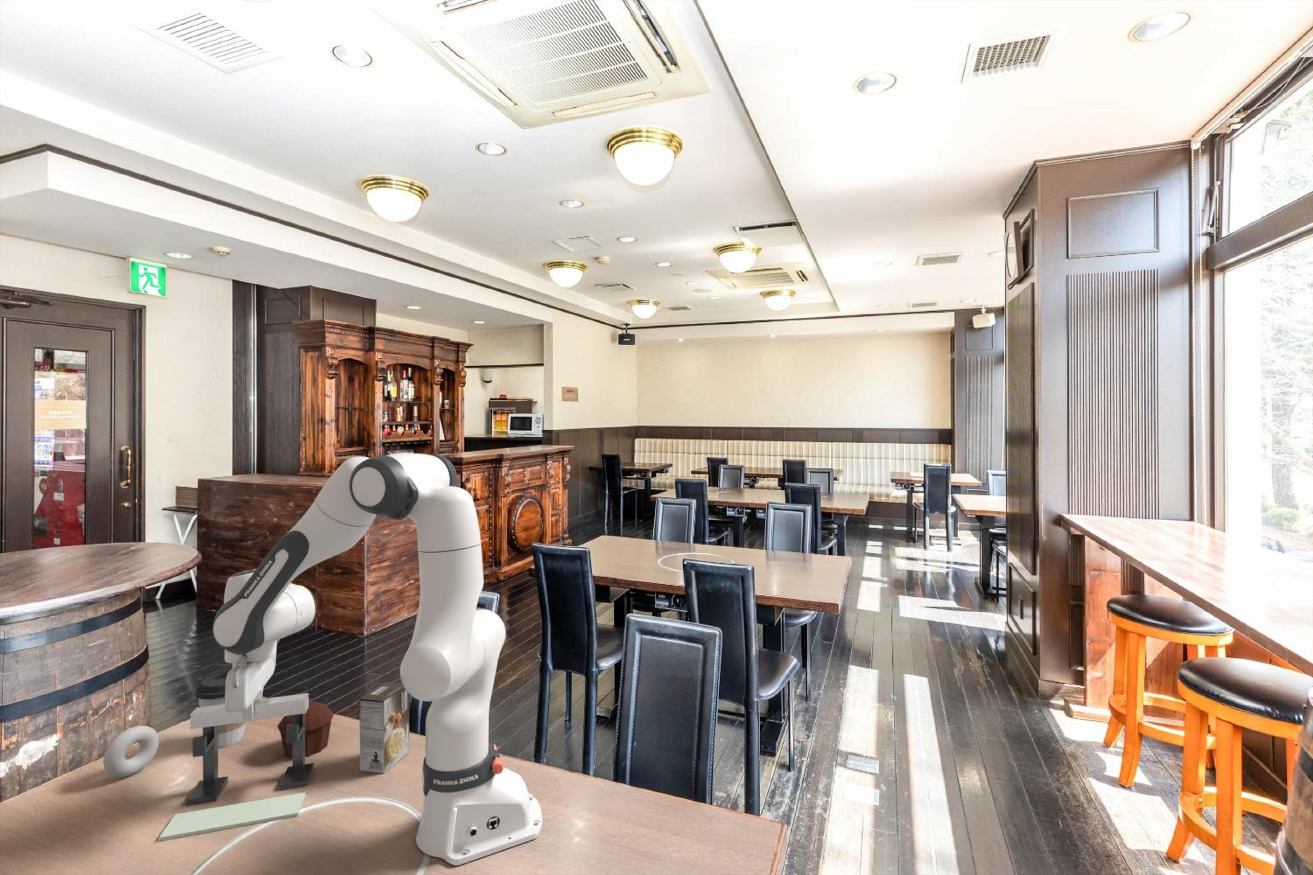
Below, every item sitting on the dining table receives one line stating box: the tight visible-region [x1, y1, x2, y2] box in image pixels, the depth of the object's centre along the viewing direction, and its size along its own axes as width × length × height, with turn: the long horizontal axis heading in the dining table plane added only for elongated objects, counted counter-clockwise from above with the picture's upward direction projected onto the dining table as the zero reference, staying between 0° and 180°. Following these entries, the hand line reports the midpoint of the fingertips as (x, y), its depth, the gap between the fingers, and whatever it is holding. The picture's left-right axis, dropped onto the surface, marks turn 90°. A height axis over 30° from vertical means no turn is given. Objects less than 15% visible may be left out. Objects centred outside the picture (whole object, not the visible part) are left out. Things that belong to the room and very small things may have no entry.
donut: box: [102, 725, 160, 778], centre depth 130 cm, size 10×4×10 cm, turn 161°
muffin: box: [276, 701, 334, 759], centre depth 141 cm, size 12×11×10 cm
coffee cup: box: [194, 670, 246, 749], centre depth 144 cm, size 11×11×15 cm
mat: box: [158, 792, 307, 842], centre depth 116 cm, size 22×7×1 cm, turn 109°
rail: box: [189, 692, 310, 730], centre depth 124 cm, size 20×3×3 cm, turn 109°
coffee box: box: [358, 681, 410, 774], centre depth 135 cm, size 9×6×16 cm
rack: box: [185, 713, 315, 807], centre depth 125 cm, size 21×8×16 cm, turn 109°
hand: (252, 714), depth 124 cm, fingers closed on rail, 3 cm apart
